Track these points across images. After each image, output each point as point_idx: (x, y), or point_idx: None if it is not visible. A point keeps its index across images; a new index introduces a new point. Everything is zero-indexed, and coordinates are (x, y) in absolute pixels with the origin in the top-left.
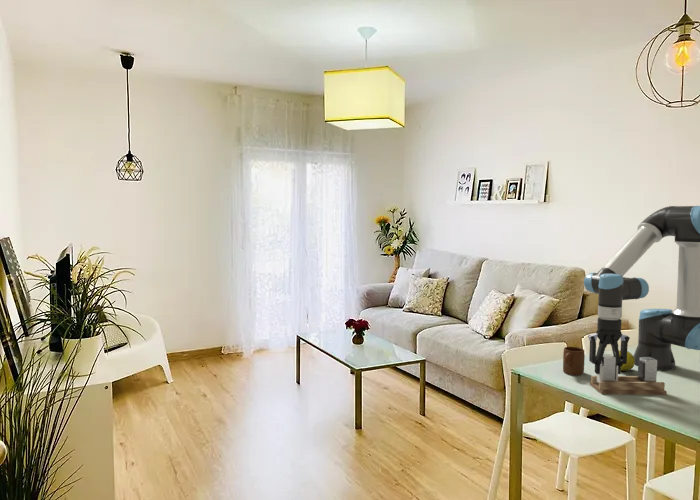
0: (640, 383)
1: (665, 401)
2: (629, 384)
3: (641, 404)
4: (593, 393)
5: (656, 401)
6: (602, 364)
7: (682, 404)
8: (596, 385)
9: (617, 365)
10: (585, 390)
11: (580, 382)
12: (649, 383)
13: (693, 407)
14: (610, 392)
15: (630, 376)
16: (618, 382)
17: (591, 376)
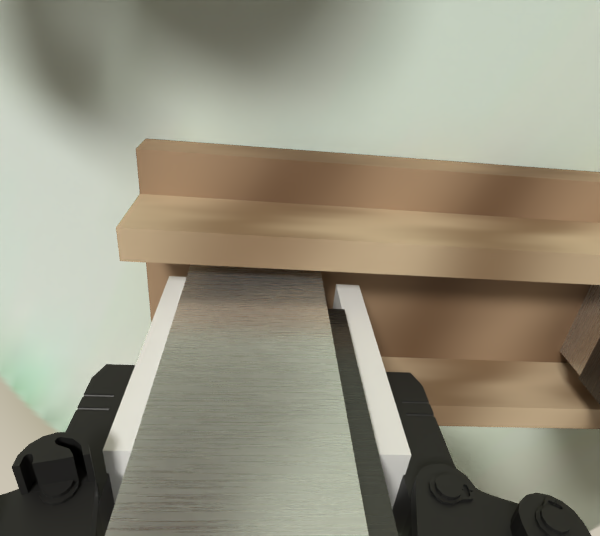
0: (521, 420)
1: (523, 470)
2: None
3: None
4: (104, 358)
5: (469, 471)
6: None
7: (577, 500)
8: (164, 280)
9: (394, 515)
10: (52, 297)
11: (57, 55)
12: (597, 425)
13: (592, 526)
14: None
15: (596, 267)
16: None
17: (119, 225)
